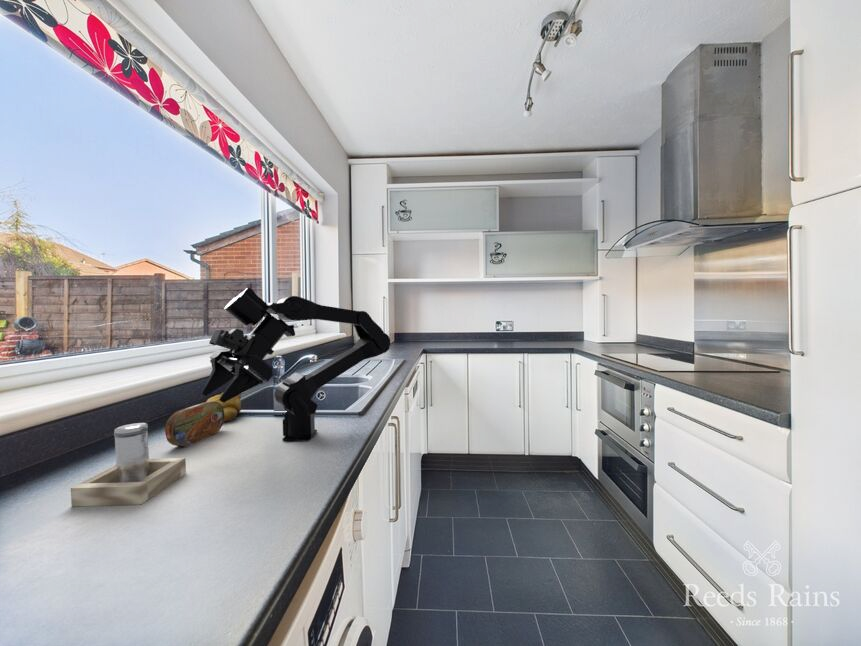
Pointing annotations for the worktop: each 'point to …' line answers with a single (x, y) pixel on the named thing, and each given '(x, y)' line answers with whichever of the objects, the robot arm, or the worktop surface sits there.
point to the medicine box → (277, 405)
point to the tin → (194, 423)
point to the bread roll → (229, 406)
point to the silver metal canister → (132, 452)
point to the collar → (127, 485)
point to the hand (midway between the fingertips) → (212, 397)
